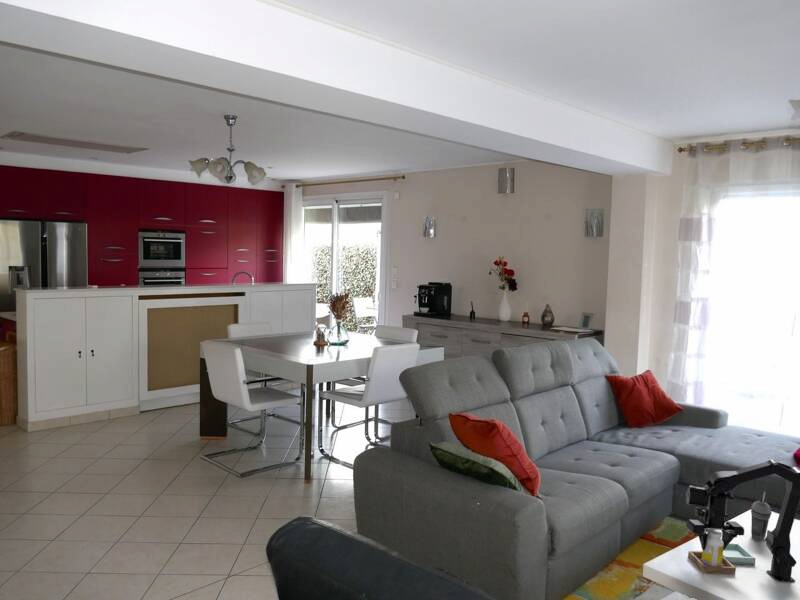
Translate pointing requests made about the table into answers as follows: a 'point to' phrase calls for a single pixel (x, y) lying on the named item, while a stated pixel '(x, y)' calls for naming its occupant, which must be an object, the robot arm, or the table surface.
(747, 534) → the table surface
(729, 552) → the tray
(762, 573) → the table surface
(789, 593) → the table surface
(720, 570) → the brown wooden square frame
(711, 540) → the supplement bottle
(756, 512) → the beverage cup
